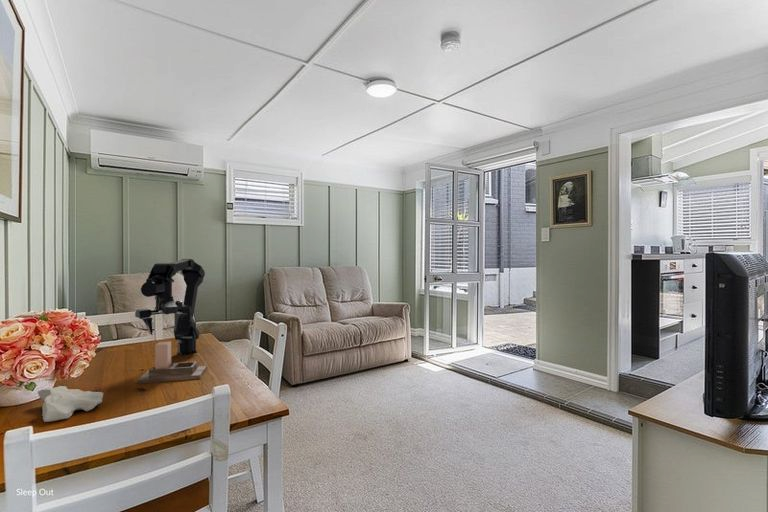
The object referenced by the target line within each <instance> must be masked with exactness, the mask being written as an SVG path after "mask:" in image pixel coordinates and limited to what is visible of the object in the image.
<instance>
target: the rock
mask: <svg viewBox="0 0 768 512" xmlns="http://www.w3.org/2000/svg"><path fill="white" fill-rule="evenodd" d="M37 395H38V397H39V398H40V399H42V400H43V401H44V402H43V404H42V405H41V406H42V407H41V409H42V414H41V417H42V416H43V417H42V420H43V422H44V423H47V422H56V421H60V420H66V419H70V418H71V417H72V416H73V414H74V412H76V411H80V410H83V411H85V412H89V411H91V410H93V409H94V408H95V407H96V406H98V405H99V404H102V403H103V397H104V392H101V391H90V390H87V391H83V390H81V389H79V388H77V389H76V388H75V389H73V388H70V389H69V388H68V387H67V386H66V385H63V386H62V385H58V386H56V387H50V388H44V389H43V388H42V389H40V390H38V391H37Z"/></svg>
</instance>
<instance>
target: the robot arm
mask: <svg viewBox="0 0 768 512" xmlns="http://www.w3.org/2000/svg"><path fill="white" fill-rule="evenodd" d="M194 260H195V259H192V258H182V259H180V260H175V261H172V262H169V263H167V262H166V263H165V262H163V263H162V262H160V263H159V262H158V263H157V262H156V263H154V265H153V266H152V268H151V270H150V272H149V275H148V277H147V278H146V279H145V281H146V282H144V283H143V284H142V286H141V288H140V292H141V294H142V295H143V297H144V296H145V297H146V298H147V297H154V300H155V306H154V309H153V310H152V309H149V308H141V309H136V311H135V313H134V317H135V318H138V319H140V320H142V321H143V322H144V324H145V326H146V329H148V332H149V334H150V335H153V317H151V316H153V315H154V316H155V315H162V314H164V315H172V314H174V327H173V335H174V339H175V341H178V342H177V352H178V353H177V352H176V353H177V354H180V355H182V354H185V355H188V354H187V353H190V354H193V353H192V352H195V353H197V352H196V351H198V350H197V340H199V339H200V331H199V330H198V329H197V322H196V321H195V318H194V316H195V315H194V314H195V308H196V301H197V297H198V296H197V295H198V289H199V286H201V284H202V283H203V281H204V277H205V276H206V272H205V270H204V268H203V267H202V266H201V265H200V264H199V263H197V262H195V261H194ZM177 272H180V273H181V275H182V276H183V281H184V283H185V285H186V286H185V293H184V298H183V301H182V300H181V299H180V300H176V301H174V296H173V283H174V282H175V279H173V277H175V276H176V275H177Z"/></svg>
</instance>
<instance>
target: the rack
mask: <svg viewBox="0 0 768 512" xmlns="http://www.w3.org/2000/svg"><path fill="white" fill-rule="evenodd" d="M207 369H208V366H207V365H199V366H198V361H197V360H196V361H185V362H171V367H170V368H166V369H155V364H154V365H153V366H152V367H151V368H150V369H148V370H147V371H146V372H145V373H143V375H141V376H140V377H138V379H136V384H148V383H160V382H161V383H162V382H163V383H164V382H173V381H174V382H175V381H186V380H199V379H201V378H202V377H203V375H204V374H205V372H206V371H207ZM205 370H206V371H205Z"/></svg>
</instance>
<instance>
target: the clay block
mask: <svg viewBox="0 0 768 512" xmlns="http://www.w3.org/2000/svg"><path fill="white" fill-rule="evenodd" d="M171 363H172V341H159V342H158V343H155V345H154V365H155V369H166V368H170V367H171Z"/></svg>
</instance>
